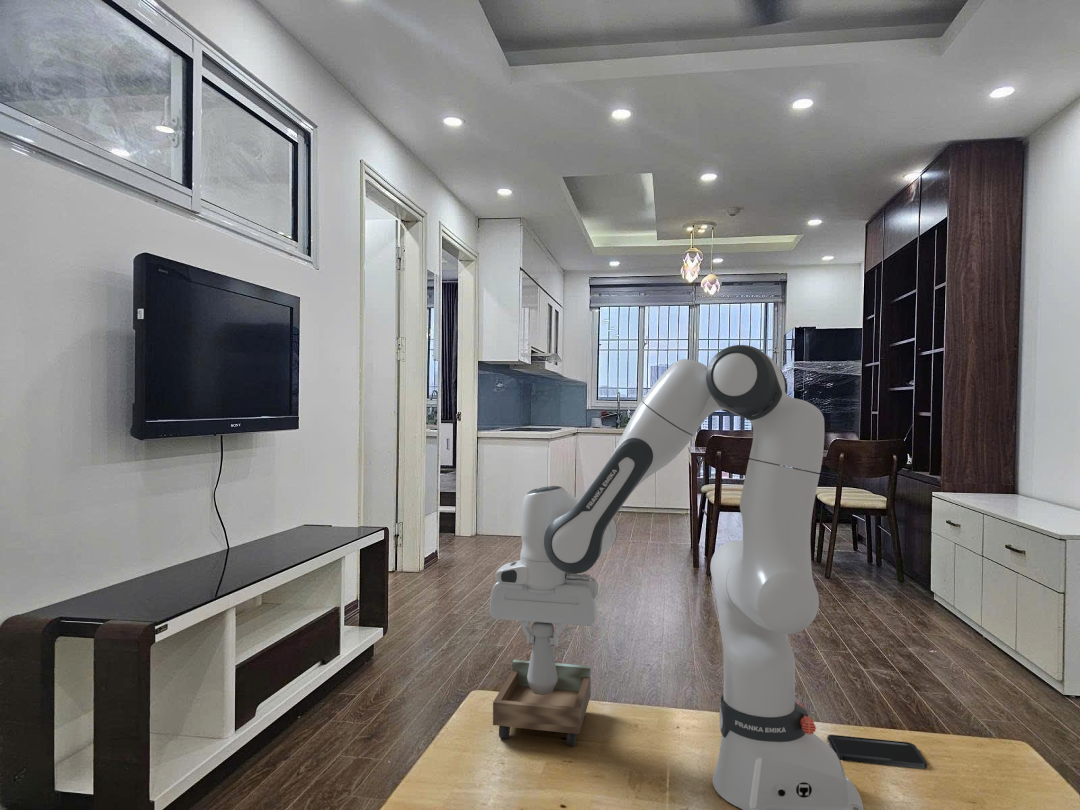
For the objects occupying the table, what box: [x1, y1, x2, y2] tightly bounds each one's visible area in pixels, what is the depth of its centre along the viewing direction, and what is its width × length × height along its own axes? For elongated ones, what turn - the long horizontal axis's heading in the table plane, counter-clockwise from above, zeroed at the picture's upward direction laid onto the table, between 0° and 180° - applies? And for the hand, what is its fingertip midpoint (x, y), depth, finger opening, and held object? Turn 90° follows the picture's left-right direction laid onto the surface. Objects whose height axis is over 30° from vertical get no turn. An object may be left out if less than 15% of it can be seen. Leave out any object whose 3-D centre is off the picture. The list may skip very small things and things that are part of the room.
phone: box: [826, 734, 928, 770], centre depth 120 cm, size 8×1×15 cm
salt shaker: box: [527, 622, 558, 695], centre depth 127 cm, size 6×6×13 cm
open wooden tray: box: [492, 659, 592, 747], centre depth 129 cm, size 16×16×9 cm
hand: (542, 644), depth 127 cm, fingers closed on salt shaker, 3 cm apart
